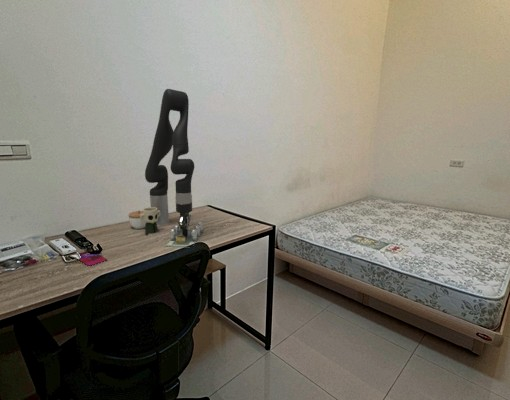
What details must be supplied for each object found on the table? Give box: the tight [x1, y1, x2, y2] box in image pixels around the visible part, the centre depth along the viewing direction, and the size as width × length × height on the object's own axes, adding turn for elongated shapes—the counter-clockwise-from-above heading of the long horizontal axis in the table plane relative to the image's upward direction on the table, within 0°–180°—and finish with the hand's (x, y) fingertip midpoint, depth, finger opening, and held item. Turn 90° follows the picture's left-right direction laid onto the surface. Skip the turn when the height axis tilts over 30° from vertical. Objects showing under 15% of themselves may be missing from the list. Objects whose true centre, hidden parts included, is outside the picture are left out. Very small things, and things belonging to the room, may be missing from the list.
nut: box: [176, 235, 185, 244], centre depth 136 cm, size 4×5×3 cm
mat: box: [165, 228, 205, 248], centre depth 143 cm, size 12×24×2 cm, turn 177°
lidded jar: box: [128, 210, 146, 230], centre depth 159 cm, size 11×11×9 cm
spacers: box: [169, 220, 204, 243], centre depth 144 cm, size 13×15×6 cm
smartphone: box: [78, 250, 108, 267], centre depth 121 cm, size 8×1×15 cm
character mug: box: [140, 206, 160, 235], centre depth 150 cm, size 11×7×13 cm, turn 138°
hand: (185, 236), depth 142 cm, fingers closed
